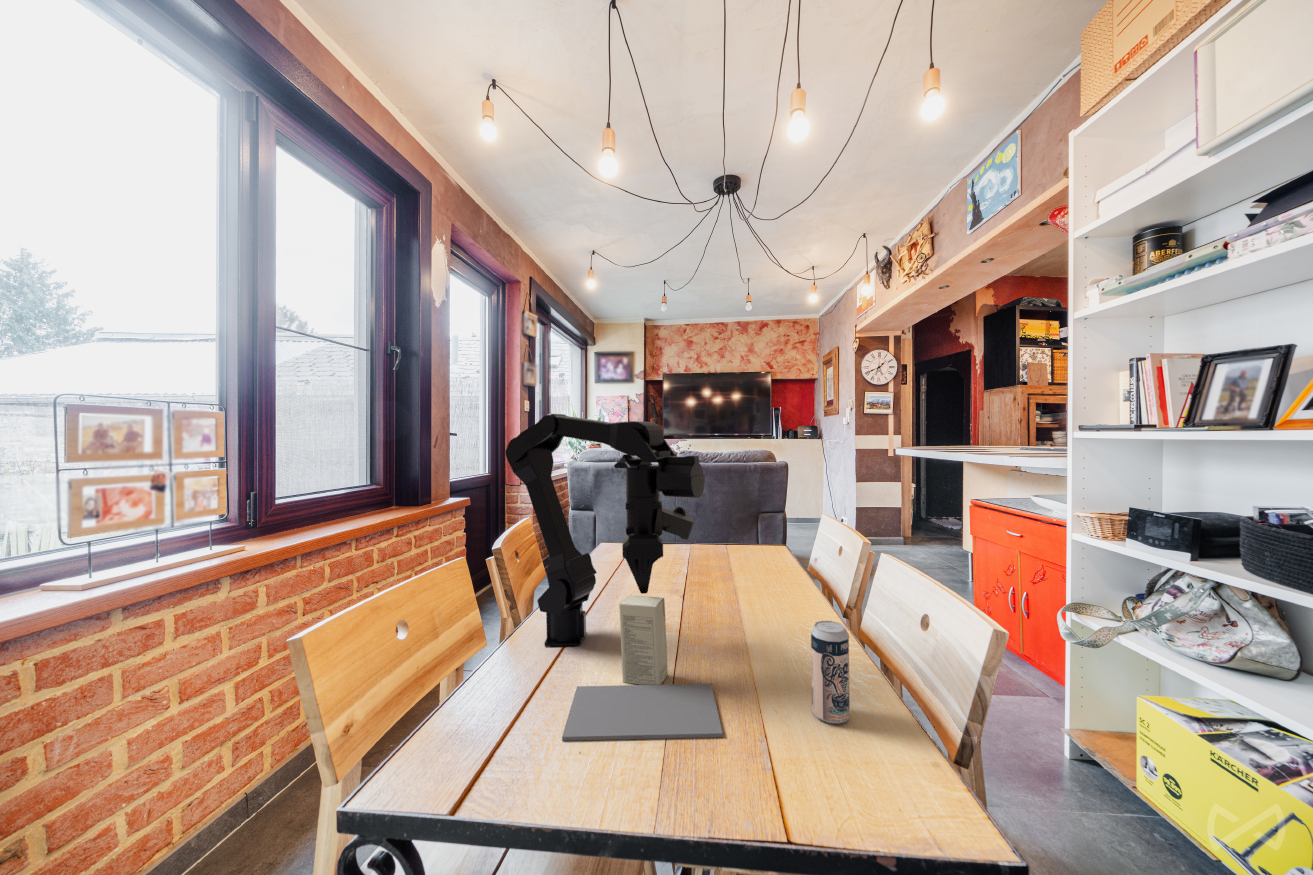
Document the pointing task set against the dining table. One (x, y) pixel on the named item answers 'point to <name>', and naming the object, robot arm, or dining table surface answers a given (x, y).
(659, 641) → the skincare box
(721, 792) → the dining table surface
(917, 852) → the dining table surface
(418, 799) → the dining table surface
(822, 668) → the beer can
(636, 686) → the mat
